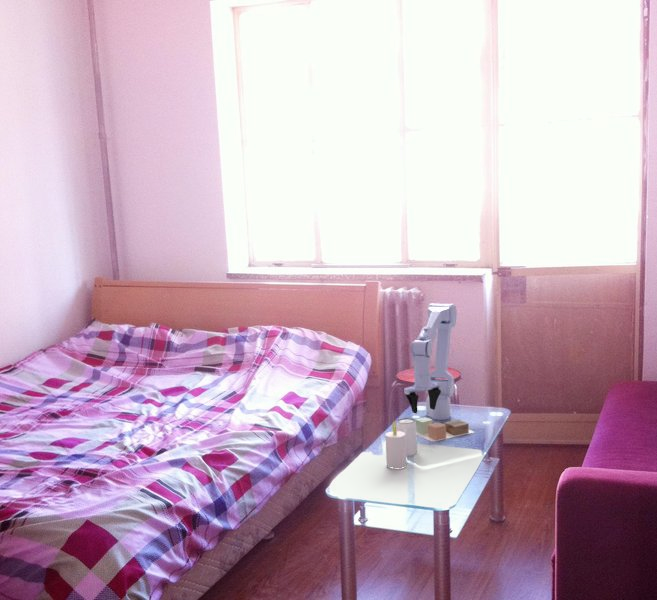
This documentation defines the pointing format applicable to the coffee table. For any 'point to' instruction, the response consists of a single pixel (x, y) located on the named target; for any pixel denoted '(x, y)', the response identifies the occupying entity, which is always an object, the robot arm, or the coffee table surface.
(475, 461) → the coffee table surface
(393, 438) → the candle
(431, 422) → the sage block
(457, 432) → the walnut block
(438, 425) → the terracotta block
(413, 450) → the can
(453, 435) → the cream board
